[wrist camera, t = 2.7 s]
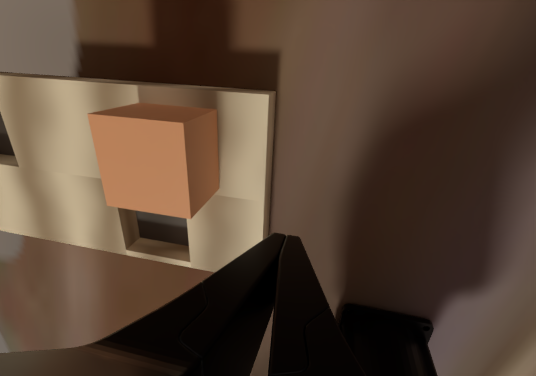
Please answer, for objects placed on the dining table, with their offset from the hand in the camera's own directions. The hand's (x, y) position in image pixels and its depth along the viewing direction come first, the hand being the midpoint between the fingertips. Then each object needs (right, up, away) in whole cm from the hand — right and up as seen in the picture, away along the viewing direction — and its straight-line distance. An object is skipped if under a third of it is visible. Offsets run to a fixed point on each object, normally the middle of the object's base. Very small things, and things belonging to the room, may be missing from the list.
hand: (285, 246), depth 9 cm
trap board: (-16, +4, +14) cm, 22 cm away
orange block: (-6, +4, +9) cm, 12 cm away
